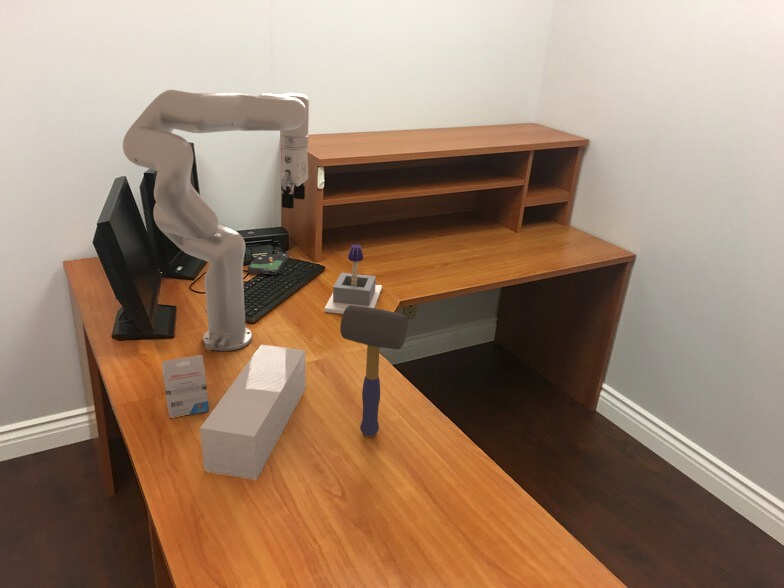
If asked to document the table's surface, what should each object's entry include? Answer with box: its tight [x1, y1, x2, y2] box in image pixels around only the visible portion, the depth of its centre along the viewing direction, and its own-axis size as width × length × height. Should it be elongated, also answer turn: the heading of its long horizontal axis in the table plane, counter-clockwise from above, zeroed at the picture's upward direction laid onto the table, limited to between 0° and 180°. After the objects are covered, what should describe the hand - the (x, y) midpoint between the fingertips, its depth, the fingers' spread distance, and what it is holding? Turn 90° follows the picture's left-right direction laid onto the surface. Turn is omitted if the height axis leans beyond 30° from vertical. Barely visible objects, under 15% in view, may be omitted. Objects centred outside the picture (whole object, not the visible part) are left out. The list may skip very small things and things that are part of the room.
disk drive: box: [247, 252, 290, 275], centre depth 212 cm, size 10×3×15 cm
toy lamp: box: [347, 244, 364, 287], centre depth 188 cm, size 5×5×17 cm
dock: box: [324, 272, 383, 315], centre depth 191 cm, size 20×14×6 cm
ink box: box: [161, 354, 210, 419], centre depth 135 cm, size 8×5×15 cm, turn 114°
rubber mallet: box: [339, 305, 409, 438], centre depth 128 cm, size 12×8×30 cm, turn 73°
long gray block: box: [199, 343, 307, 481], centre depth 132 cm, size 32×11×11 cm, turn 170°
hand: (293, 203), depth 175 cm, fingers open, 9 cm apart
